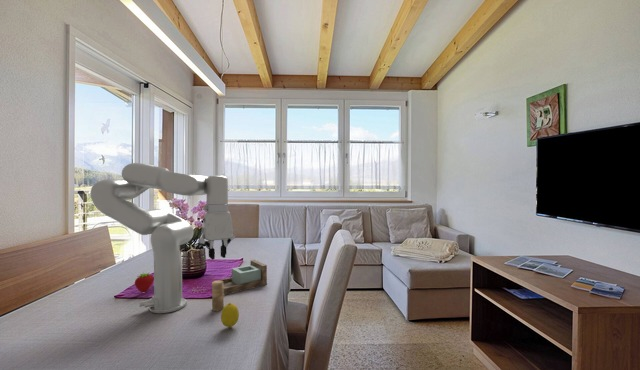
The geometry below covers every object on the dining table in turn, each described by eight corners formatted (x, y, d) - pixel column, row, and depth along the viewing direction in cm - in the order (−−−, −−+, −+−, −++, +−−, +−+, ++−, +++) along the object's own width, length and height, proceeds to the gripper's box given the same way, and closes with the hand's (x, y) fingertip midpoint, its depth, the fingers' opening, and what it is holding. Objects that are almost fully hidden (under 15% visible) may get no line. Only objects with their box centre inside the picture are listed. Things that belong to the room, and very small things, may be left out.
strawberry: (157, 291, 128) (157, 268, 128) (139, 297, 121) (139, 273, 121) (149, 289, 131) (148, 267, 131) (131, 295, 124) (131, 271, 124)
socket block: (240, 286, 130) (240, 273, 130) (231, 281, 138) (231, 268, 138) (261, 282, 136) (260, 269, 136) (251, 276, 144) (251, 264, 144)
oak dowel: (214, 312, 107) (214, 284, 107) (210, 308, 110) (210, 282, 110) (225, 309, 109) (225, 282, 109) (221, 305, 113) (221, 279, 113)
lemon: (229, 333, 91) (228, 308, 91) (217, 329, 94) (217, 304, 94) (242, 326, 96) (242, 301, 96) (230, 322, 99) (230, 298, 99)
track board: (224, 294, 124) (224, 273, 124) (213, 286, 134) (213, 266, 134) (266, 284, 136) (266, 265, 136) (254, 277, 146) (254, 259, 146)
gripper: (197, 210, 102) (197, 263, 102) (242, 208, 112) (242, 256, 112) (191, 209, 108) (191, 259, 108) (234, 207, 118) (235, 252, 118)
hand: (217, 257), depth 110 cm, fingers open, 3 cm apart
